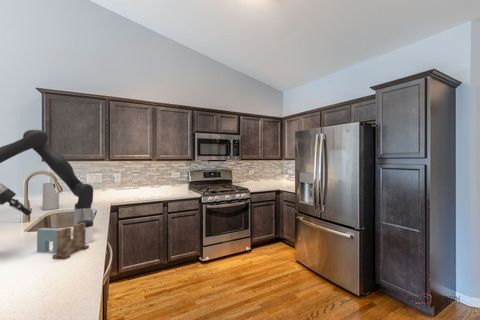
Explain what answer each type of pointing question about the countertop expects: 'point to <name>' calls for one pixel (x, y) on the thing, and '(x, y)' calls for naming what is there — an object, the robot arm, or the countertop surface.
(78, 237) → the brown wooden u-shaped piece
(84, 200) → the robot arm
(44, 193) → the cylinder vase
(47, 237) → the teal rectangular panel
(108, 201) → the countertop surface
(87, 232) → the jar
